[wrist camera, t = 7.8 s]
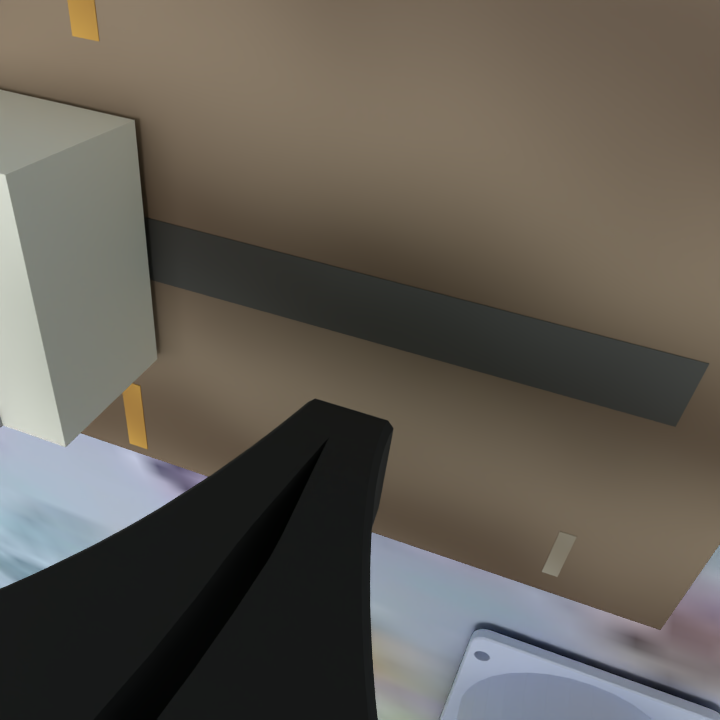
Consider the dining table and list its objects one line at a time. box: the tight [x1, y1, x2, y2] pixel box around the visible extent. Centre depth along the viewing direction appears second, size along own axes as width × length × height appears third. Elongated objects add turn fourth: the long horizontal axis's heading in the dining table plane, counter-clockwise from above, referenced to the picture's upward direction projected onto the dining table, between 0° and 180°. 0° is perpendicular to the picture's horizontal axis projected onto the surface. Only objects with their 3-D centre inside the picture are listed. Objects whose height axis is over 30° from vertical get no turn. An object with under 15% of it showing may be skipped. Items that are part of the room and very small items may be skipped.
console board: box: [0, 0, 720, 630], centre depth 15 cm, size 14×22×2 cm, turn 83°
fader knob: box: [0, 90, 157, 447], centre depth 14 cm, size 6×4×4 cm, turn 173°
